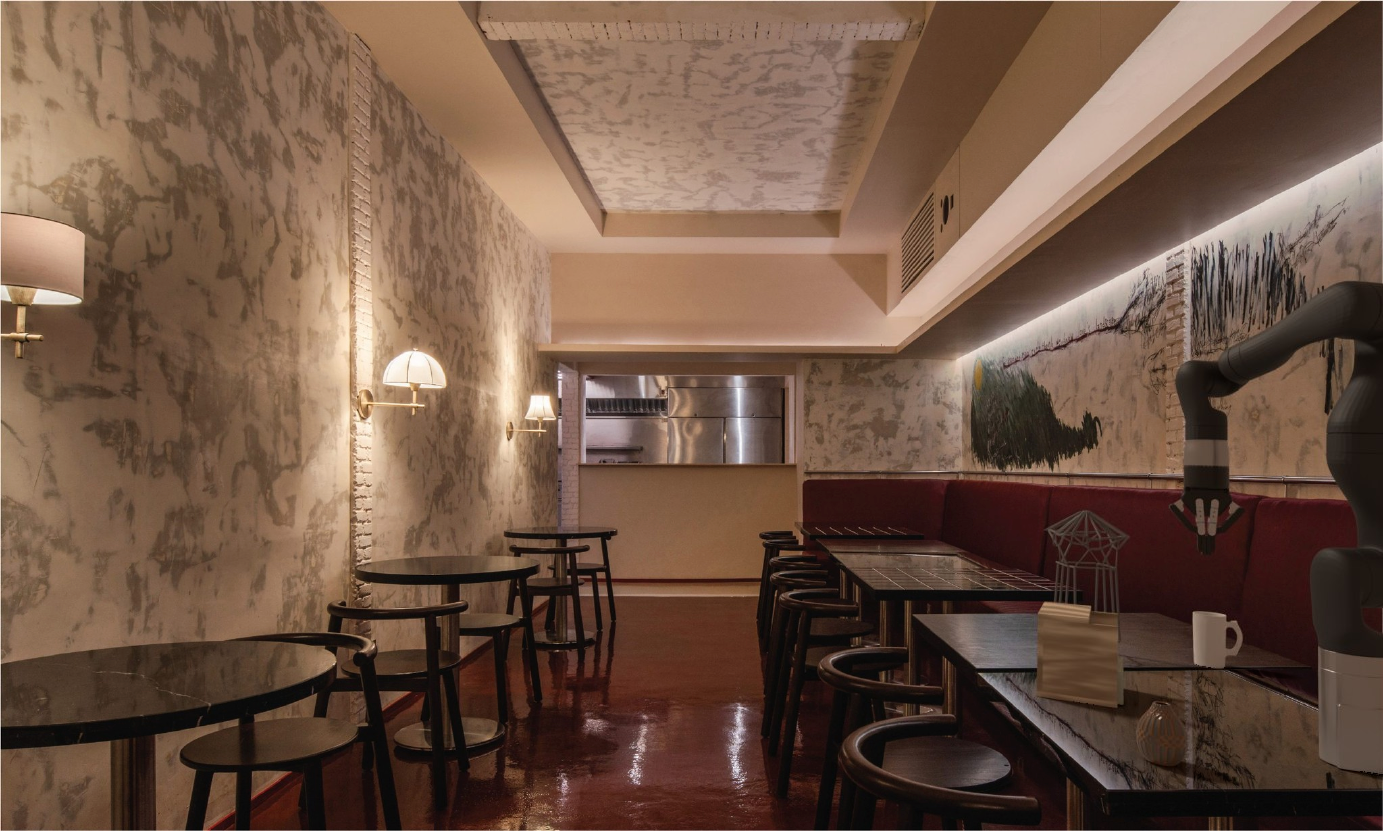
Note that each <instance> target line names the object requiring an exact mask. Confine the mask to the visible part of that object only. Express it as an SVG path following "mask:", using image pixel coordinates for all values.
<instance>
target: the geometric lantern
mask: <svg viewBox="0 0 1383 831" xmlns="http://www.w3.org/2000/svg"><path fill="white" fill-rule="evenodd" d="M1083 521H1084V530H1078V529H1079V527H1080V525H1081V524H1082V522H1083ZM1089 521H1090V522H1091V524H1092V526H1093V528H1094V530H1091V531H1089ZM1096 524H1097V525H1096ZM1098 525H1099V527H1100V528H1101V529H1102V530H1100V529H1099V528H1098ZM1061 526H1062V527H1061ZM1059 527H1060V528H1059ZM1057 528H1059V529H1057ZM1071 530H1072V531H1071ZM1112 530H1113V531H1112ZM1043 531H1045V532H1046V531H1047V532H1048V534H1049V535H1050V537H1051V539H1052V546H1055V547H1058V548H1057V549H1058V557H1059V561H1057V560H1056V561H1055V564H1056V572H1055V574H1056V575H1055V583H1054V584H1055V588H1054V598H1053V599H1054V600H1053V602H1054V603H1062V597H1063V596H1062V595H1063V589H1064V588H1063V587H1064V586H1063V585H1064V577H1065V576H1064V573H1065V567H1066V568H1067V570H1066V584H1065V598H1064V600H1065V602H1064V604H1069V603H1068V601H1069V586H1070V570H1071V569H1073V604H1074V605H1077V569H1087V570H1089V569H1090V570H1095V590H1094V593H1095V595H1094V596H1095V597H1094V611H1096V612H1098V596H1099V594H1098V593H1099V592H1098V591H1099V570H1102V589H1103V612H1106V613H1108V612H1107V609H1108V608H1107V593H1106V592H1107V590H1106V589H1107V588H1106V586H1107V585H1106V584H1107V583H1106V570H1107V571H1109V582H1110V583H1109V584H1110V585H1109V586H1110V598H1111V600H1110V601H1111V613H1117V614H1118V644H1121V642H1122V635H1121V632H1122V631H1121V618H1120V599H1119V596H1120V595H1119V582H1118V580H1119V578H1118V576H1119V575H1118V554H1119V552H1118V551H1119V550H1120V549H1121V548H1122V547H1123V546H1124V545H1125V543H1126V542H1127V541H1128V540H1129V539H1130V538H1131V536H1130V535H1128V534H1127V533H1125V532H1123V531H1122V530H1120V529H1119V528H1118V527H1116V526H1115V525H1112V524H1111V523H1110V522H1108V521H1107V520H1105V519H1103V518H1102V517H1100V516H1099V515H1097V514H1096V513H1094V512H1092V511H1091V510H1084V509H1083V510H1080V511H1078V512H1076V513H1074V514H1072V515H1070V516H1069V517H1066V518H1065V519H1064V518H1063V520H1060V521H1058V522H1057V523H1054V524H1052V525H1050V526H1049V527H1047V528H1045V529H1043ZM1115 532H1116V533H1117V534H1118V535H1117V534H1116V533H1115ZM1090 534H1095V535H1093V537H1089V535H1090ZM1101 534H1106V535H1107V536H1106V537H1105V536H1104V537H1102V535H1101ZM1067 536H1068V537H1071V538H1070V539H1069V538H1068V537H1067ZM1058 537H1060V541H1059V543H1058ZM1078 537H1080V538H1082V540H1081V539H1080V538H1078ZM1097 537H1098V538H1097ZM1073 538H1074V539H1075V540H1077V542H1075V541H1073V540H1074V539H1073ZM1064 540H1066V541H1067V542H1069V544H1068V546H1067V548H1066V550H1065V552H1063V550H1062V547H1061V546H1062V544H1063V542H1064ZM1085 540H1086V541H1085ZM1104 540H1109V543H1107V544H1106V545H1103V546H1102V541H1104ZM1092 541H1097V542H1098V543H1099V544H1098V545H1099V547H1090V544H1089V543H1091V542H1092ZM1120 541H1122V542H1121V543H1120ZM1116 543H1117V546H1116ZM1072 545H1076V546H1077V545H1078V546H1083V547H1085V548H1086V549H1087V550H1086V552H1085V553H1084V554H1083V556H1081V558H1080V559H1079V561H1067V558H1066V556H1067V554H1068V553H1069V550H1070V549H1071V547H1072ZM1108 547H1109V550H1108V551H1107V553H1106V554H1105V552H1104V549H1106V548H1108ZM1113 549H1114V550H1115V551H1116V552H1115V554H1116V555H1115V566H1111V564H1110V563H1109V560H1108V558H1109V555H1110V554H1111V552H1112V550H1113ZM1092 551H1101V554H1102V556H1103V560H1102V563H1101V562H1100V561H1099V560H1098V558H1097V557H1096V555H1095V554H1094V552H1092ZM1089 552H1090V553H1091V555H1092V556H1093V558H1094V559H1095V560H1096V562H1093V561H1092V562H1091V561H1082V560H1083V559H1084V557H1085V556H1086V555H1087V554H1088V553H1089ZM1061 557H1062V558H1061ZM1105 563H1106V564H1105ZM1069 564H1075V565H1069ZM1079 564H1082V565H1083V564H1089V565H1095V566H1091V567H1090V566H1080V565H1079ZM1060 565H1061V574H1060V572H1059V571H1060ZM1078 565H1079V566H1078ZM1099 566H1101V567H1099ZM1070 568H1071V569H1070ZM1113 571H1114V580H1115V582H1113ZM1059 574H1060V584H1059ZM1113 583H1115V594H1114V584H1113ZM1058 586H1059V597H1058ZM1114 595H1115V596H1114ZM1057 599H1058V602H1057ZM1114 599H1115V600H1116V609H1115V600H1114ZM1115 610H1116V611H1115Z"/></svg>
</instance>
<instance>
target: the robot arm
mask: <svg viewBox="0 0 1383 831" xmlns="http://www.w3.org/2000/svg"><path fill="white" fill-rule="evenodd" d="M1330 339H1342V340H1349V341H1350V340H1351V341H1353V348H1354V350H1353V351H1354V352H1353V356H1354V357H1353V366H1352V367H1353V368H1352V373H1351V376H1350V379H1349V381H1348V383H1347V384H1346V386H1345V389H1344V390H1343V391H1342V393H1341V394H1340V396H1339V397H1338V400H1337V401H1336V403H1335V405H1334V406H1333V409H1332V410H1331V412H1330V414H1329V417H1328V420H1327V423H1326V429H1325V431H1326V432H1325V433H1326V435H1325V436H1326V437H1325V439H1326V442H1325V448H1326V449H1325V450H1326V451H1325V455H1326V456H1325V457H1326V465H1327V468H1328V470H1329V472H1330V475H1331V476H1332V478H1333V480H1334V481H1335V483H1336V485H1337V486H1338V488H1339V490H1340V491H1341V492H1342V494H1343V495H1344V497H1345V498H1346V501H1347V502H1348V503H1349V504H1348V505H1349V506H1350V507H1351V510H1352V512H1353V515H1354V517H1355V521H1356V522H1355V523H1356V530H1357V545H1356V546H1357V547H1338V546H1336V547H1334V546H1333V547H1327V548H1326V547H1325V548H1322V549H1321V550H1319V551H1318V552H1317V553H1316V554H1315V556H1314V557H1313V559H1312V561H1311V565H1310V570H1309V572H1310V573H1309V583H1310V586H1309V588H1310V596H1311V598H1310V600H1311V612H1312V623H1313V627H1314V630H1315V634H1316V635H1317V636H1316V637H1317V643H1318V647H1317V648H1318V650H1317V651H1318V654H1317V656H1318V658H1317V659H1318V662H1317V664H1318V666H1317V667H1318V670H1317V672H1318V673H1317V677H1318V678H1317V680H1318V682H1317V683H1318V684H1317V685H1318V690H1317V691H1318V745H1319V746H1318V757H1319V759H1321V760H1322V761H1324V762H1326V763H1328V764H1331V765H1333V766H1336V767H1337V768H1339V769H1343V770H1348V771H1356V772H1360V771H1363V772H1362V773H1367V772H1371V773H1370V774H1373V772H1374V773H1378V774H1377V775H1379V774H1383V632H1379V631H1377V630H1375V629H1373V628H1371V627H1370V626H1368V625H1367V624H1366V623H1365V620H1364V615H1363V608H1366V609H1383V282H1376V281H1375V282H1373V281H1372V282H1371V281H1363V280H1360V281H1359V280H1343V281H1339V282H1336V283H1334V284H1331V285H1329V286H1328V287H1326V288H1324V289H1323V290H1321V291H1320V292H1318V293H1317V294H1315V295H1314V296H1313V297H1311V298H1310V299H1308V300H1307V301H1306V302H1304V303H1303V304H1302V305H1300V306H1299V307H1298V308H1296V309H1295V310H1293V311H1292V312H1290V313H1289V314H1287V315H1286V316H1284V317H1283V318H1282V319H1280V320H1279V321H1277V322H1276V323H1274V324H1273V325H1271V326H1270V327H1267V328H1266V329H1264V330H1263V331H1262V330H1261V332H1259V333H1256V334H1254V335H1252V336H1250V337H1248V338H1246V339H1244V340H1242V341H1240V342H1238V343H1236V344H1234V345H1232V346H1229V347H1228V348H1226V349H1225V350H1224V351H1223V352H1222V353H1220V355H1219V357H1218V361H1217V360H1216V361H1214V360H1213V361H1211V360H1198V359H1191V360H1187V361H1185V362H1183V363H1182V364H1181V365H1180V367H1178V369H1177V371H1176V374H1175V381H1174V382H1175V389H1176V394H1177V397H1178V400H1179V404H1180V408H1181V410H1182V414H1183V417H1184V422H1185V423H1184V425H1185V426H1184V440H1185V441H1184V446H1183V459H1182V462H1183V491H1182V493H1181V495H1180V499H1179V500H1177V501H1176V502H1174V503H1170V504H1169V505H1168V509H1170V512H1172V513H1173V515H1174V516H1175V517H1176V518H1177V519H1178V520H1179V522H1180V524H1182V525H1183V526H1184V527H1185V529H1187V531H1189V532H1192V533H1195V535H1196V549H1197V551H1198V552H1199V553H1200V554H1201V555H1202V556H1211V555H1212V553H1215V552H1216V536H1217V535H1220V534H1225V533H1227V531H1228V530H1229V529H1230V528H1231V527H1232V526H1233V525H1234V524H1235V523H1236V522H1237V521H1238V520H1239V519H1240V518H1241V517H1242V516H1243V515H1244V514H1245V513H1246V509H1245V508H1244V507H1241V506H1240V505H1238V504H1237V503H1235V502H1234V501H1233V496H1232V495H1231V492H1230V450H1229V449H1230V448H1229V439H1228V438H1229V436H1228V435H1229V434H1228V431H1229V430H1228V429H1229V428H1228V426H1229V425H1228V424H1229V422H1228V420H1229V419H1228V415H1227V413H1226V412H1224V411H1223V410H1220V409H1216V408H1214V407H1213V406H1212V404H1211V402H1210V398H1214V399H1219V398H1224V397H1229V396H1231V395H1233V394H1235V393H1236V392H1238V391H1239V390H1241V388H1243V387H1244V386H1246V385H1247V384H1248V383H1249V382H1250V381H1253V380H1255V379H1258V378H1260V377H1262V376H1264V375H1267V374H1269V373H1271V372H1274V371H1276V370H1277V369H1279V368H1281V367H1283V366H1284V365H1285V364H1286V363H1288V362H1289V361H1290V359H1291V358H1292V357H1293V356H1294V355H1295V353H1296V352H1297V351H1299V350H1300V349H1302V348H1304V347H1306V346H1308V345H1311V344H1316V343H1317V342H1322V341H1323V342H1324V341H1326V340H1330ZM1184 506H1185V507H1186V508H1187V510H1188V511H1189V513H1191V515H1193V516H1195V524H1196V525H1194V524H1192V522H1191V521H1190V520H1189V519H1188V518H1187V516H1186V515H1185V514H1184V513H1183V512H1184V510H1185V507H1184ZM1228 508H1229V510H1228V514H1229V515H1228V516H1227V517H1226V519H1225V520H1224V521H1223V522H1222V523H1221V524H1219V526H1217V523H1218V518H1219V517H1220V516H1221V515H1222V514H1223V513H1224V512H1225V511H1226V510H1227V509H1228ZM1205 517H1207V528H1206V527H1205V526H1206V523H1205ZM1206 529H1207V530H1206ZM1364 771H1365V772H1364Z"/></svg>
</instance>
